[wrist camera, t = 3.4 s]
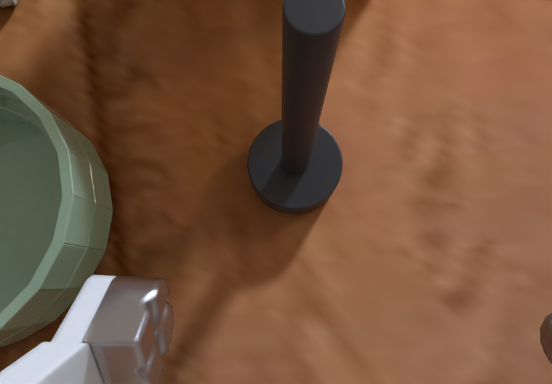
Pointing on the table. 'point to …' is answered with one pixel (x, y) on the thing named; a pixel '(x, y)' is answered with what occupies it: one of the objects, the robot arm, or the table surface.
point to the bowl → (45, 212)
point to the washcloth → (8, 3)
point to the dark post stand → (301, 114)
